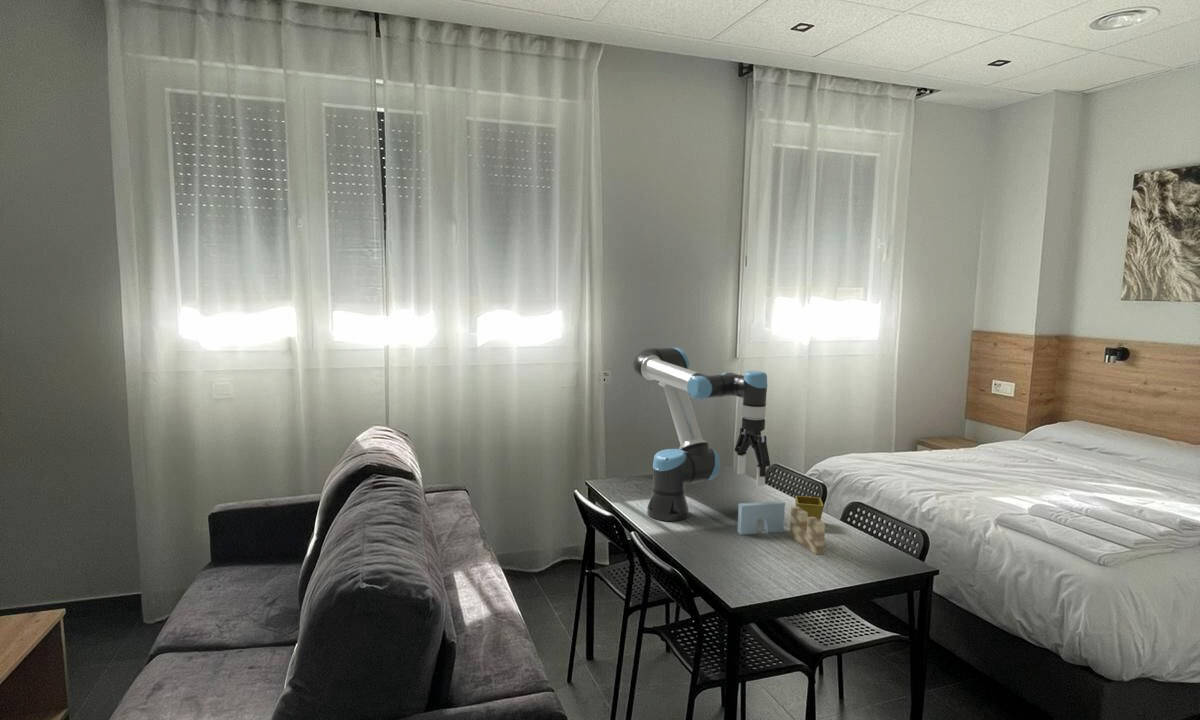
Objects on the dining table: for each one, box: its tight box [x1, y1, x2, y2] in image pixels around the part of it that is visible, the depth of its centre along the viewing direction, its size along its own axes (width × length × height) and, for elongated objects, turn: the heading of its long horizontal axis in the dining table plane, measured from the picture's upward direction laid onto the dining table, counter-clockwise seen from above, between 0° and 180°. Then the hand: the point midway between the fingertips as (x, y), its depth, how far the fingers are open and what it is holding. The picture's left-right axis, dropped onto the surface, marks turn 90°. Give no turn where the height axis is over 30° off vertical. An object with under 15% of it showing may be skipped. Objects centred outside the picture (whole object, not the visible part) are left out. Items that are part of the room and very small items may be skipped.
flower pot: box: [795, 495, 824, 521], centre depth 230 cm, size 9×9×9 cm
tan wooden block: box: [789, 506, 826, 555], centre depth 212 cm, size 16×2×10 cm, turn 14°
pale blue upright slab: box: [737, 500, 786, 536], centre depth 222 cm, size 16×2×10 cm, turn 104°
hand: (750, 479), depth 220 cm, fingers open, 13 cm apart
